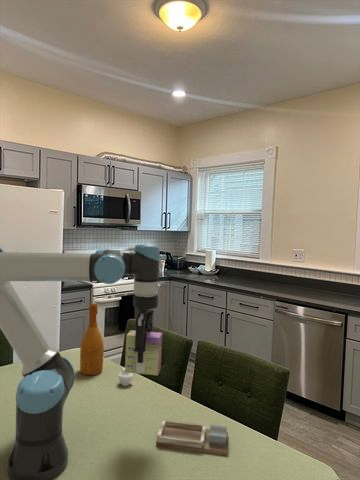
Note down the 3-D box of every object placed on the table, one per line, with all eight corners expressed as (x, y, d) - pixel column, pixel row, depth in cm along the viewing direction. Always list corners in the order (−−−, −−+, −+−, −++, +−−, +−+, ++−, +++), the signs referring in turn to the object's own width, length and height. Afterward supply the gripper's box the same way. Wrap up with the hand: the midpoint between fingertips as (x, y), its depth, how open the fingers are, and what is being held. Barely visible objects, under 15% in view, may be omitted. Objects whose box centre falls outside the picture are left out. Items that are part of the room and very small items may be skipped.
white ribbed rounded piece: (130, 388, 143) (131, 371, 143) (115, 386, 144) (116, 369, 144) (134, 381, 149) (135, 365, 149) (120, 380, 150) (121, 363, 150)
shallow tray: (227, 455, 104) (227, 441, 104) (156, 445, 107) (156, 432, 107) (227, 435, 114) (228, 422, 113) (162, 427, 117) (163, 414, 117)
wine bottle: (107, 370, 159) (109, 303, 157) (91, 378, 150) (93, 307, 149) (91, 365, 164) (93, 300, 163) (74, 372, 156) (77, 303, 154)
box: (161, 368, 114) (162, 331, 114) (158, 376, 109) (159, 337, 108) (129, 365, 115) (130, 329, 115) (124, 373, 110) (125, 335, 109)
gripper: (150, 301, 101) (147, 382, 102) (163, 289, 120) (161, 358, 121) (125, 299, 102) (122, 379, 103) (141, 288, 121) (139, 356, 122)
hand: (143, 367), depth 112 cm, fingers closed on box, 6 cm apart
